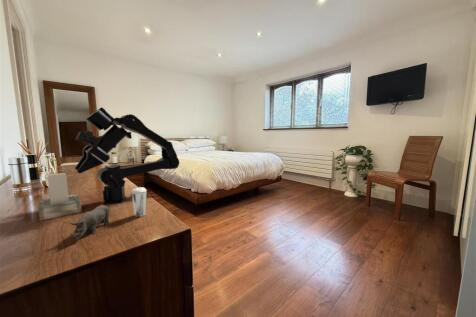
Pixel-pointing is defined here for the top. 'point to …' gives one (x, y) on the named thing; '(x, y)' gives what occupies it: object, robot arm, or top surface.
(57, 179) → the peg
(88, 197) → the top surface
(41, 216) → the coin box
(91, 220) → the rhino figurine
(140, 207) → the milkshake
